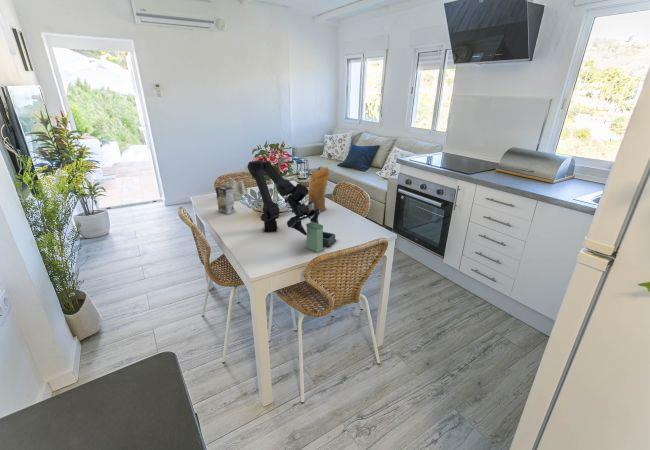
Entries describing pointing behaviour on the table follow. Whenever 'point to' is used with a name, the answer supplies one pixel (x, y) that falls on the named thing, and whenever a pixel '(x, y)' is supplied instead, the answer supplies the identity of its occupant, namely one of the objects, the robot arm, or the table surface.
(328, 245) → the dark grey open box
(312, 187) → the pancake mix bag
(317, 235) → the green box
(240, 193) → the ceramic cottage
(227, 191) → the coffee box
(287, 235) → the table surface
